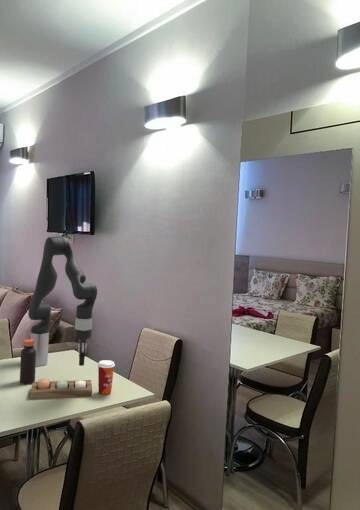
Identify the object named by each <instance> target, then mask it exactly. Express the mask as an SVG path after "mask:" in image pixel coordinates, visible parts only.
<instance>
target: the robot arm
mask: <svg viewBox="0 0 360 510" xmlns="http://www.w3.org/2000/svg"><path fill="white" fill-rule="evenodd" d="M54 256H64V257H65V258H66V261H65V262H66V263H65V268H64V269H65V274H66V276H67V278H68V280H69V281H70V283H71V284H70V285H71V289H72V295H73V296H74V298H75V299H76V300H81V301H82V300H84V301H83V302H81V303H80V304H77V306H76V312H75V322H74V339H76V340H78V341H77V348H78V349H77V351H78V357H79V358H78V360H79V361H78V366H85V358H86V353H87V347H88V341H87V340H89V339H92V334H93V333H92V332H93V309H94V306H95V302H96V300H97V295H98V288H97V286H96V285H95V284H94V283H93V282H92V283H91V282H90V283H85V282H86V281H87V280H86V279H87V278H86V275H85V273H84V272H83V269H82V268H81V266H80V265H79V263H78V260H77V257H76V255H75V252H74V250H73V246H72V244H71V242H70V240H69V239H68V237H66V236H63V235H62V236H61V235H59V236H58V235H57V236H48V237H47V238H46V239H45V242H44V246H43V252H42V259H41V264H40V269H39V272H38V275H37V280H36V285H35V288H34V291H33V294H32V298H31V301H30V304H29V307H28V312H27V313H28V315H27V316H28V318H29V320H31V321H38V320H39V322H38V323H36V324H35V325H32V326H31V328H30V339H33V340H35V344H34V349H35V350H36V367H42V366H46V365H48V361H49V359H48V357H49V356H48V355H49V337H50V327H51V326H50V323H51V317H52V307H51V303H49V302H48V301H43V299H45V298H46V297H47V296H48V295H49V294H50V293H51V292H52V291H53V290H54V289H55V287H56V284H57V280H58V273H57V270H56V269H55V267H54V265H53V258H54ZM42 301H43V302H42ZM40 320H41V321H40Z"/></svg>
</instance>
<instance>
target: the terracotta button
mask: <svg viewBox="0 0 360 510" xmlns="http://www.w3.org/2000/svg"><path fill="white" fill-rule="evenodd" d="M49 381H50V380H49V379H47V378H42V379H38V381H37V382H38V389H49Z"/></svg>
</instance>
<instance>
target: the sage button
mask: <svg viewBox="0 0 360 510" xmlns="http://www.w3.org/2000/svg"><path fill="white" fill-rule="evenodd" d="M58 381H59V382H57V387H56V389H58V388H68V382H66V381H67V380H58Z"/></svg>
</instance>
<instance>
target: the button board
mask: <svg viewBox="0 0 360 510" xmlns="http://www.w3.org/2000/svg"><path fill="white" fill-rule="evenodd" d="M59 381H60V380H51V381H50V380H49V389H38V381H35V382H33V383H32V384H31V388H30V391H29V400H36V399H37V400H38V399H39V400H40V398H41V400H42V398H43V399H59V398H60V399H61V398H62V399H63V398H64V399H65V397H67V398H85V397H88V398H89V397H93V386H92V379H84V380H82V381H86V387H85V388H75V382H76V381H80V379H79V380H77V379H76V380H65V381H66V382H68V388H58V389H56V387H57V382H59Z"/></svg>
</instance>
